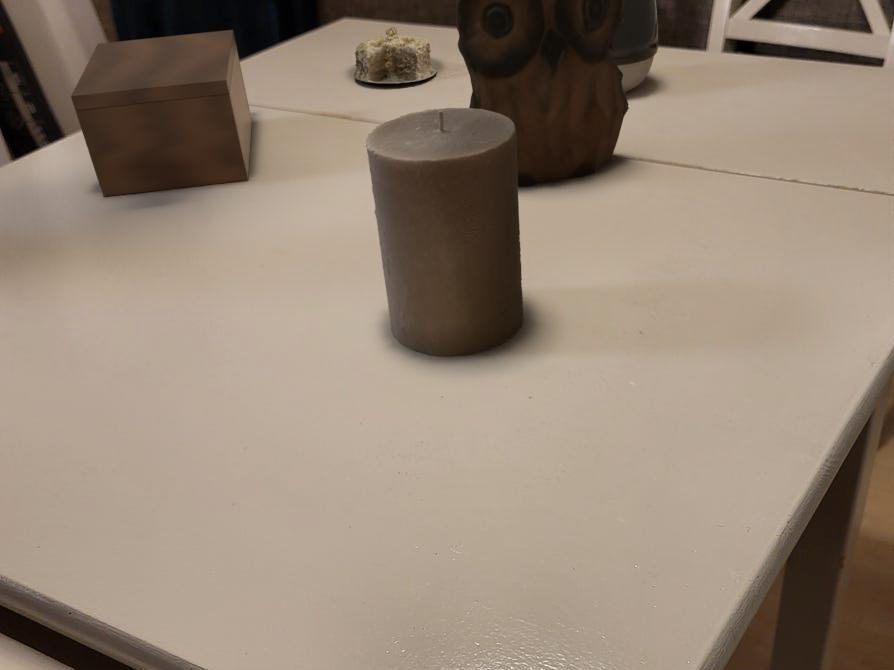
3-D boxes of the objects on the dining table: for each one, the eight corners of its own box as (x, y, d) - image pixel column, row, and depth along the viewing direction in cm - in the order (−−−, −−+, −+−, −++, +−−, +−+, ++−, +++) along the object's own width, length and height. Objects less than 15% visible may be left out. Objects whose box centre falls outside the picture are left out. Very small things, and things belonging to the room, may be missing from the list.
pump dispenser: (550, 81, 112) (549, -78, 101) (634, 68, 113) (642, -90, 103) (580, 107, 105) (582, -62, 94) (670, 93, 106) (681, -74, 96)
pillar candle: (549, 337, 69) (547, 112, 59) (428, 379, 66) (403, 149, 56) (481, 287, 75) (468, 75, 65) (368, 322, 72) (335, 106, 62)
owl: (630, 164, 92) (642, -93, 78) (562, 213, 85) (562, -61, 71) (517, 145, 97) (509, -98, 83) (444, 190, 90) (423, -69, 76)
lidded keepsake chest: (103, 196, 94) (70, 96, 88) (124, 135, 107) (97, 43, 101) (248, 180, 95) (226, 79, 89) (252, 121, 108) (233, 29, 101)
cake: (351, 74, 120) (344, 24, 117) (430, 66, 121) (427, 16, 118) (357, 90, 112) (351, 37, 109) (442, 81, 114) (438, 29, 110)
